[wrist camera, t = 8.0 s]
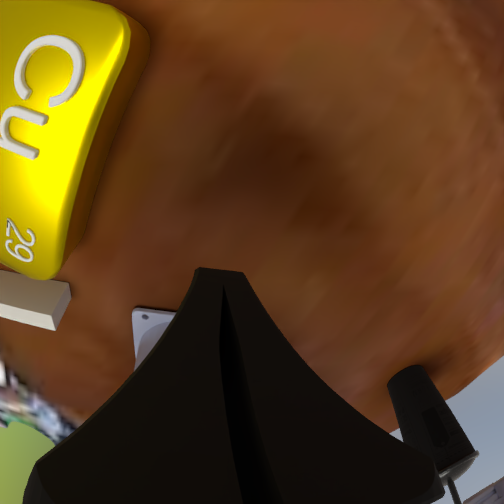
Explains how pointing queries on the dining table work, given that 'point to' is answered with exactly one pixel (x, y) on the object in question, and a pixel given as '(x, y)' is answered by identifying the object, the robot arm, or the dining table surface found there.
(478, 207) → the dining table surface
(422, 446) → the drinking cup
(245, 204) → the dining table surface
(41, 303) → the white l-shaped strip
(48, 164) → the element tile
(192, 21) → the dining table surface
